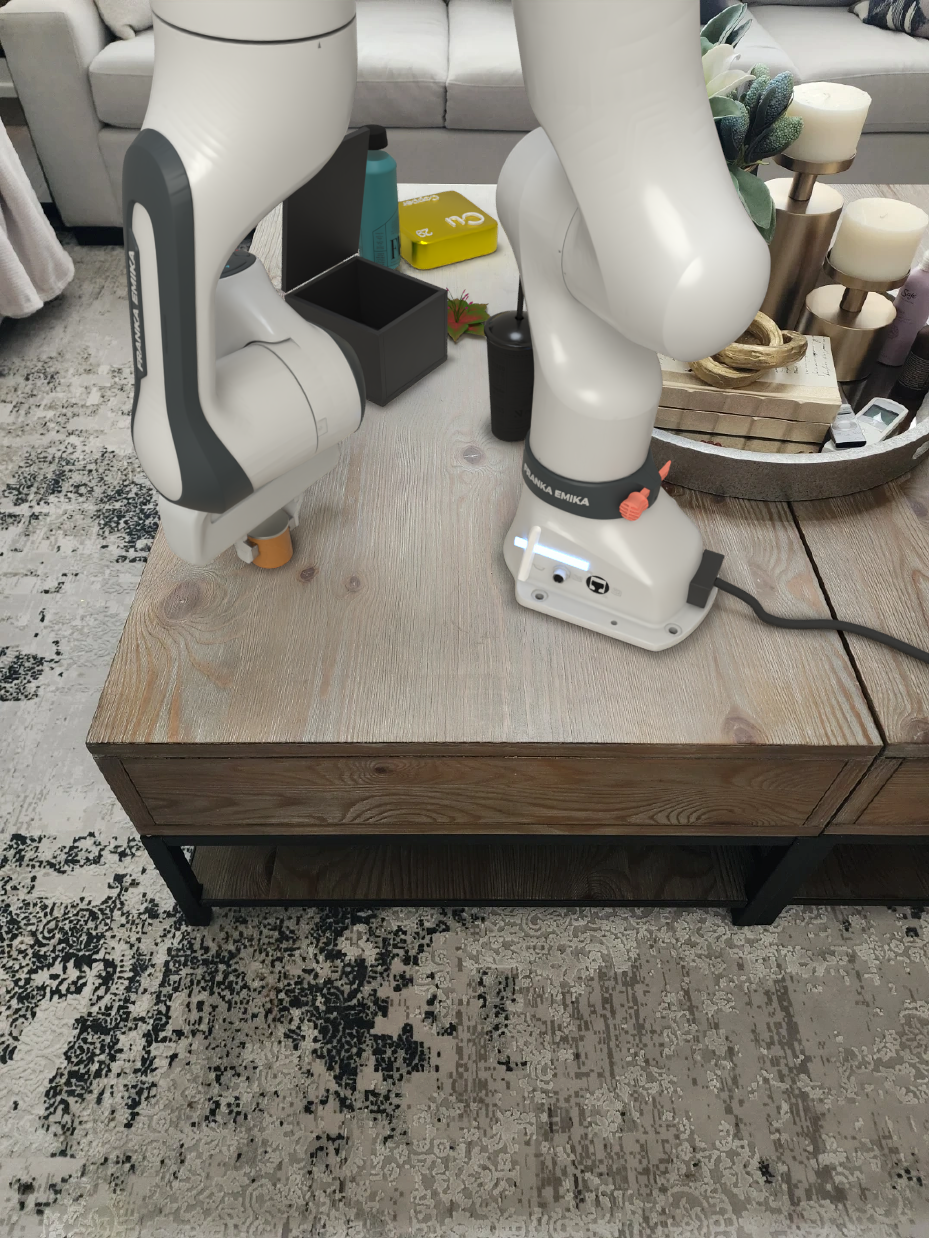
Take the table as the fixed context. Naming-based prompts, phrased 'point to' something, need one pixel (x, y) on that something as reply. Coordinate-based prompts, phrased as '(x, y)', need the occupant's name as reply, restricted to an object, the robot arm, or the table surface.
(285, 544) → the coffee pod
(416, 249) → the element tile
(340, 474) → the table surface
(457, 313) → the lily flower
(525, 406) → the drinking cup
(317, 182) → the lid
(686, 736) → the table surface
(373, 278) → the black tray bin
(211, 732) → the table surface
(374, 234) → the beverage bottle
